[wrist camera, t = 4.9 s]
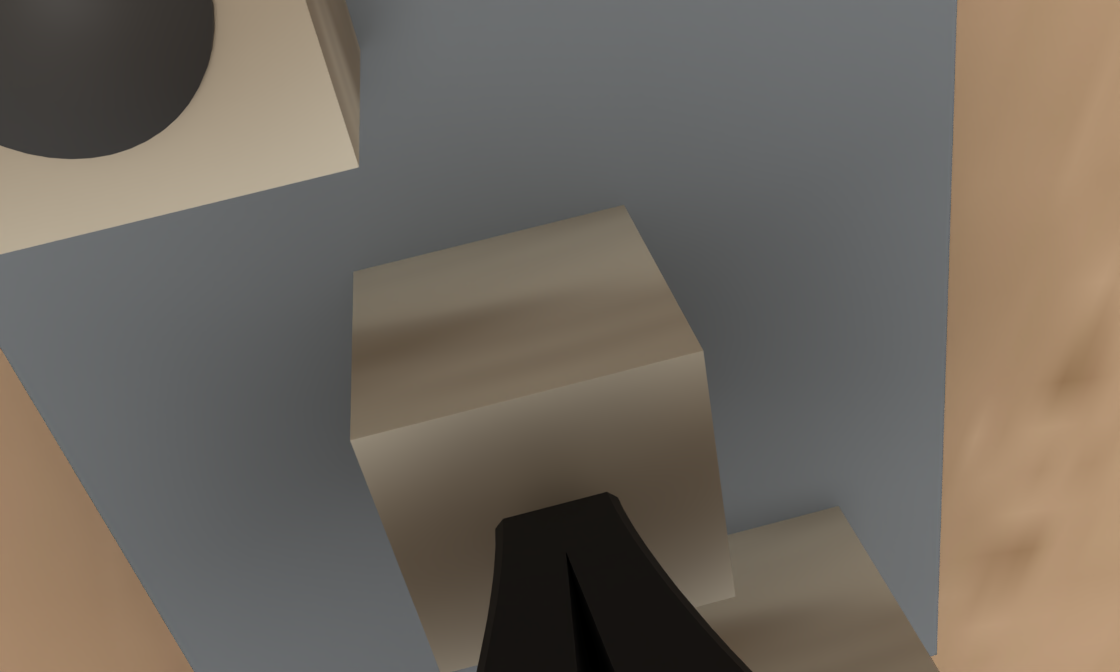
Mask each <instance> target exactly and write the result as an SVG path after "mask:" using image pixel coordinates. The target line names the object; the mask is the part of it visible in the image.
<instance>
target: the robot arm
mask: <svg viewBox="0 0 1120 672" xmlns="http://www.w3.org/2000/svg"><path fill="white" fill-rule="evenodd" d="M477 672H752V671H751V670H750V669H749V667H748V666H747V665H746V664H745V663H744V662H743V661H742V660H741V659H740V658H739V657H738V656H737V655H736V654H735V653H734V652H733V651H732V650H731V649H730V648H729V646H728V645H727V644H726V643H725V642H724V641H723V640H722V639H721V638H720V637H719V635H718V634H717V633H716V632H715V631H714V630H713V629H712V628H711V626H710V625H709V624H708V623H707V622H706V621H705V619H704V618H703V617H702V616H701V615H700V613H699V612H698V611H697V610H696V609H695V607H694V606H693V605H692V604H691V603H690V602H689V600H688V599H687V598H686V597H685V596H684V594H683V593H682V592H681V591H680V590H679V588H678V587H677V586H676V585H675V583H674V582H673V581H672V580H671V578H670V577H669V576H668V574H667V573H666V572H665V571H664V569H663V568H662V566H661V565H660V564H659V562H658V561H657V560H656V558H655V557H654V555H653V554H652V553H651V551H650V550H649V549H648V547H647V546H646V544H645V543H644V541H643V540H642V538H641V537H640V535H639V534H638V532H637V531H636V529H635V528H634V526H633V524H632V523H631V521H630V519H629V518H628V516H627V514H626V512H625V511H624V509H623V507H622V505H621V503H620V501H619V498H618V497H616V496H615V495H613V494H611V493H609V492H604V493H600V494H596V495H592V496H589V497H585V498H581V499H577V500H573V501H569V502H566V503H562V504H558V505H554V506H550V507H546V508H542V509H539V510H535V511H531V512H527V513H523V514H519V515H516V516H512V517H508V518H504V519H502V520H501V522H500V523H499V524H498V526H497V527H496V528H495V561H494V573H493V582H492V590H491V596H490V603H489V610H488V616H487V622H486V627H485V632H484V637H483V642H482V647H481V652H480V657H479V662H478V667H477Z"/></svg>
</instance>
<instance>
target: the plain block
mask: <svg viewBox="0 0 1120 672" xmlns="http://www.w3.org/2000/svg"><path fill="white" fill-rule="evenodd" d="M350 442H351V444H352V447H353V449H354V452H355V454H356V457H357V460H358V462H359V465H360V467H361V470H362V472H363V475H364V478H365V480H366V483H367V485H368V488H369V490H370V493H371V496H372V498H373V501H374V503H375V506H376V508H377V511H378V513H379V516H380V519H381V521H382V524H383V526H384V529H385V531H386V534H387V537H388V539H389V542H390V544H391V547H392V549H393V552H394V555H395V557H396V560H397V562H398V565H399V567H400V570H401V573H402V575H403V578H404V580H405V583H406V585H407V588H408V591H409V593H410V596H411V598H412V601H413V603H414V606H415V608H416V611H417V614H418V616H419V619H420V621H421V624H422V626H423V629H424V632H425V634H426V637H427V639H428V642H429V644H430V647H431V650H432V652H433V655H434V657H435V660H436V662H437V665H438V668H439V670H440V672H453V671H457V670H461V669H465V668H468V667H472V666H476V665H478V662H479V657H480V652H481V647H482V642H483V637H484V632H485V627H486V622H487V616H488V610H489V603H490V596H491V590H492V582H493V573H494V561H495V528H496V527H497V526H498V524H499V523H500V522H501V520H502V519H504V518H508V517H512V516H516V515H519V514H523V513H527V512H531V511H535V510H539V509H542V508H546V507H550V506H554V505H558V504H562V503H566V502H569V501H573V500H577V499H581V498H585V497H589V496H592V495H596V494H600V493H604V492H609V493H611V494H613V495H615V496H616V497H618V498H619V501H620V503H621V505H622V507H623V509H624V511H625V512H626V514H627V516H628V518H629V519H630V521H631V523H632V524H633V526H634V528H635V529H636V531H637V532H638V534H639V535H640V537H641V538H642V540H643V541H644V543H645V544H646V546H647V547H648V549H649V550H650V551H651V553H652V554H653V555H654V557H655V558H656V560H657V561H658V562H659V564H660V565H661V566H662V568H663V569H664V571H665V572H666V573H667V574H668V576H669V577H670V578H671V580H672V581H673V582H674V583H675V585H676V586H677V587H678V588H679V590H680V591H681V592H682V593H683V594H684V596H685V597H686V598H687V599H688V600H689V602H690V603H691V604H692V605H693V606H694V607H698V606H702V605H706V604H709V603H713V602H717V601H721V600H724V599H728V598H732V597H735V589H734V581H733V574H732V566H731V558H730V551H729V543H728V535H727V528H726V520H725V513H724V505H723V497H722V490H721V482H720V474H719V467H718V459H717V451H716V444H715V436H714V428H713V421H712V413H711V405H710V398H709V390H708V382H707V375H706V367H705V359H704V352H703V349H702V347H701V345H700V344H699V342H698V340H697V338H696V336H695V334H694V333H693V331H692V329H691V327H690V325H689V323H688V322H687V320H686V318H685V316H684V314H683V312H682V311H681V309H680V307H679V305H678V303H677V301H676V300H675V298H674V296H673V294H672V292H671V290H670V289H669V287H668V285H667V283H666V281H665V279H664V278H663V276H662V274H661V272H660V270H659V268H658V267H657V265H656V263H655V261H654V259H653V257H652V256H651V254H650V252H649V250H648V248H647V246H646V245H645V243H644V241H643V239H642V237H641V235H640V234H639V232H638V230H637V228H636V226H635V224H634V223H633V221H632V219H631V217H630V215H629V213H628V212H627V210H626V208H625V206H624V205H621V206H617V207H613V208H609V209H605V210H601V211H597V212H593V213H589V214H585V215H581V216H577V217H573V218H569V219H565V220H561V221H557V222H553V223H549V224H544V225H540V226H536V227H532V228H528V229H524V230H520V231H516V232H512V233H508V234H504V235H500V236H496V237H492V238H488V239H484V240H480V241H476V242H472V243H468V244H464V245H460V246H455V247H451V248H447V249H443V250H439V251H435V252H431V253H427V254H423V255H419V256H415V257H411V258H407V259H403V260H399V261H395V262H391V263H387V264H383V265H379V266H375V267H371V268H366V269H362V270H358V271H354V272H353V318H352V368H351V419H350Z"/></svg>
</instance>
